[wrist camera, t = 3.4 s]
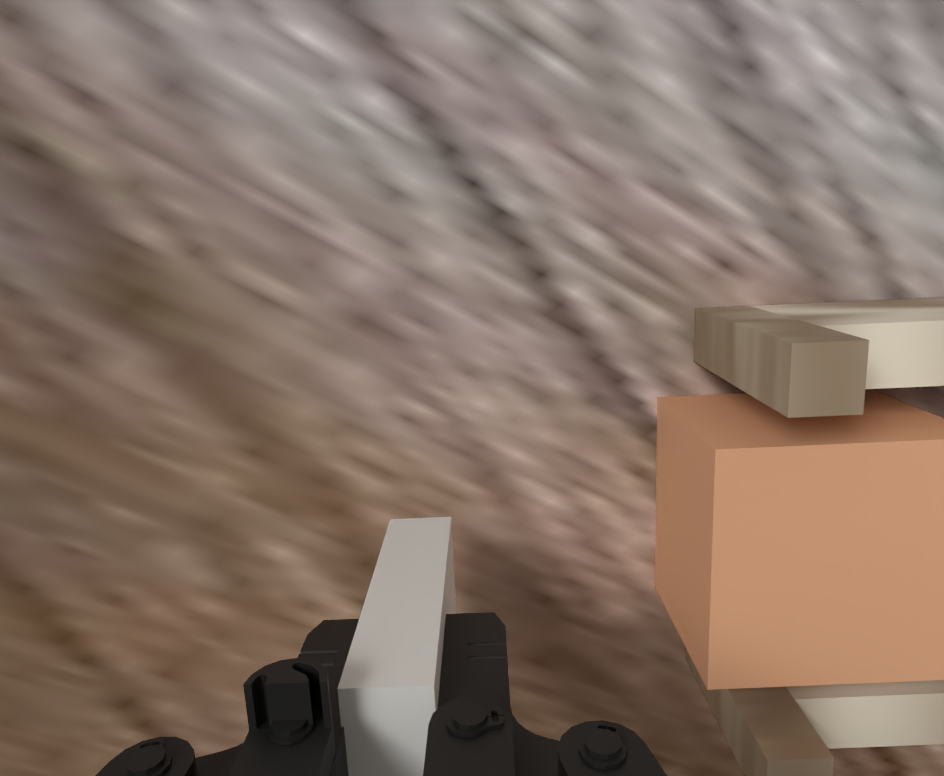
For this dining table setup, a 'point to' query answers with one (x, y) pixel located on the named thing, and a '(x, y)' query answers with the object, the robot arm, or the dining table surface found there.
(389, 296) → the dining table surface
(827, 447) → the block
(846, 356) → the parallel beige rails
